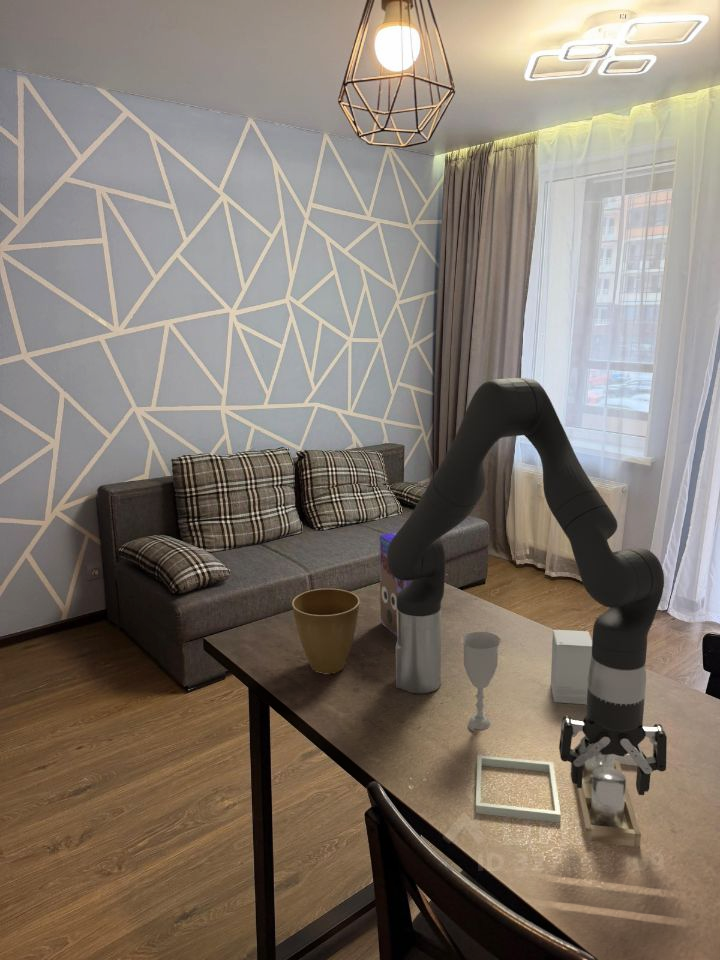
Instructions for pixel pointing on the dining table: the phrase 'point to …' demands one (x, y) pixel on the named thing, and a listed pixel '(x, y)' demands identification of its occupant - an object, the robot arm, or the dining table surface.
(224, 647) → the dining table surface
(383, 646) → the dining table surface
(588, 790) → the pocket board
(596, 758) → the cylinder
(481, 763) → the square tray frame
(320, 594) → the plant pot
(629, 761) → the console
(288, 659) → the dining table surface
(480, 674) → the chalice
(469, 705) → the dining table surface
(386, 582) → the cereal box
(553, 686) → the supplement box
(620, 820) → the cylinder
